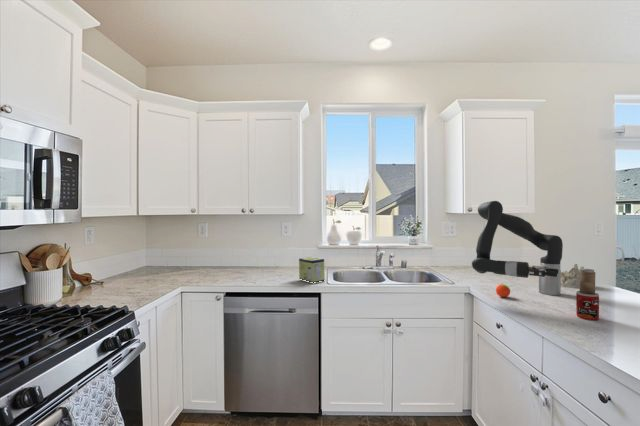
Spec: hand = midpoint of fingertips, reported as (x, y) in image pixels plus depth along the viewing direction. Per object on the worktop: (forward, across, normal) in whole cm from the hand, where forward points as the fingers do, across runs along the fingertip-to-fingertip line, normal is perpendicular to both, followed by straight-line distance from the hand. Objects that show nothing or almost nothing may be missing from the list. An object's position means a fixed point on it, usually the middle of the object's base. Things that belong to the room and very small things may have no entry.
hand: (557, 272), depth 146 cm
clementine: (-24, +15, +19) cm, 34 cm away
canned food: (+10, 0, +19) cm, 21 cm away
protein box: (-135, -18, +19) cm, 138 cm away
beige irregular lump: (+3, +70, +19) cm, 73 cm away
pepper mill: (+10, 0, +8) cm, 13 cm away
